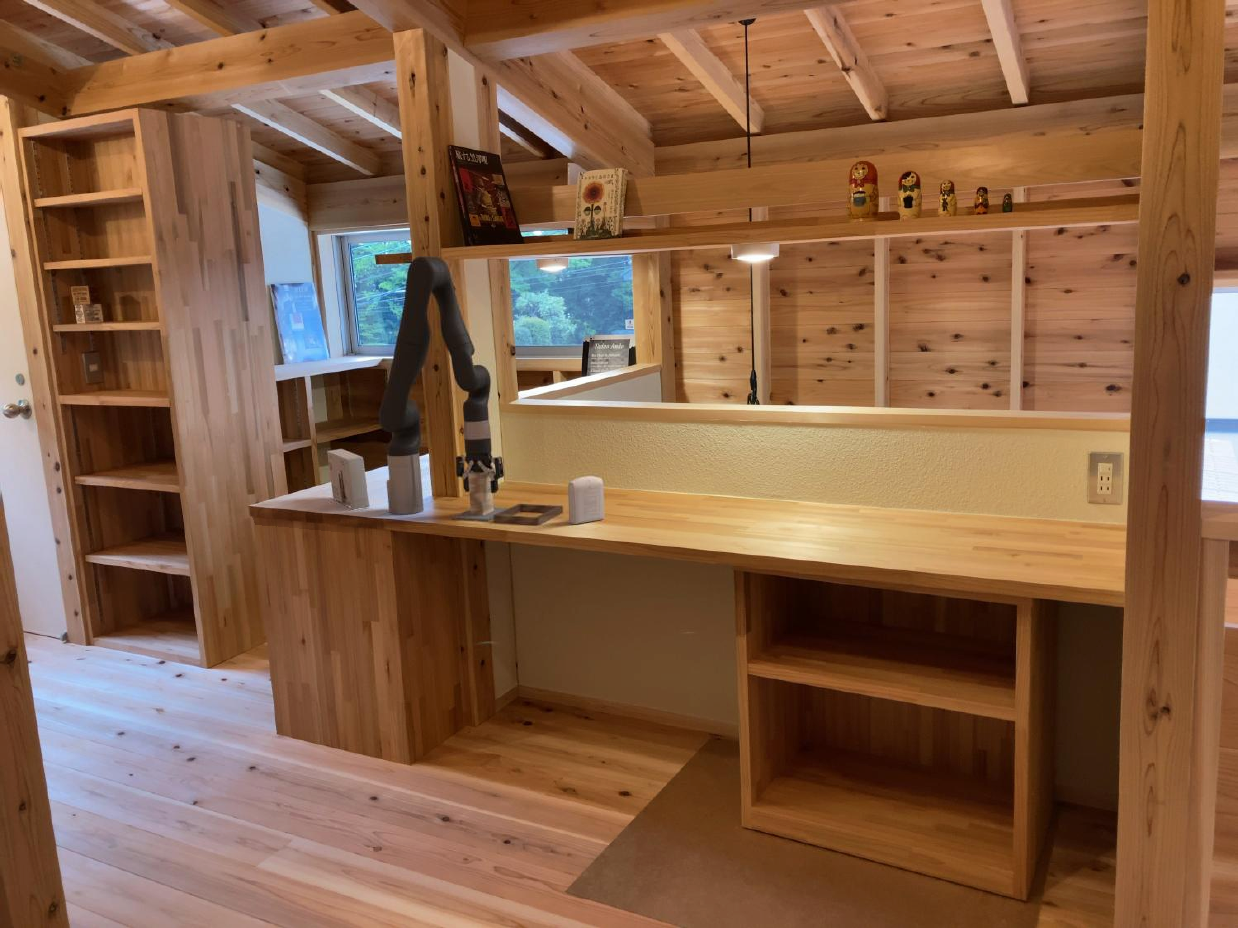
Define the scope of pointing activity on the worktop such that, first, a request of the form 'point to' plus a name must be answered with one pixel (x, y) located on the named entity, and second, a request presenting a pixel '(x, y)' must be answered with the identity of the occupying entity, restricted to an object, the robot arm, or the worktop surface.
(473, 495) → the block
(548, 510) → the frame
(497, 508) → the grey mat
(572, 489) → the photo printer
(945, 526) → the worktop surface
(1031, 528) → the worktop surface
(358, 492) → the skincare box
